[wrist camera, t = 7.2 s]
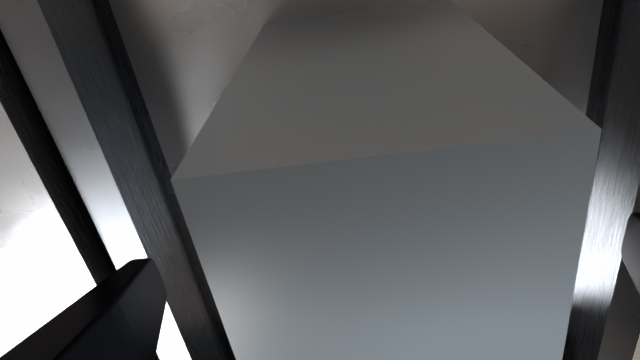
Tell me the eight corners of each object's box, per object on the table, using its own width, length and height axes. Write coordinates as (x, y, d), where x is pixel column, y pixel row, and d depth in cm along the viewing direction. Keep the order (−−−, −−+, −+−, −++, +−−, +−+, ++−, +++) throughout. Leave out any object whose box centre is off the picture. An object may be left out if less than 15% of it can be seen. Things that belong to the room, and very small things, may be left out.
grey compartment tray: (680, -237, 8) (876, -315, 5) (572, 338, 14) (627, 440, 12) (-434, -29, 10) (-735, -3, 7) (-67, 383, 17) (-147, 478, 14)
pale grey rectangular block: (447, -3, 9) (602, 129, 4) (451, 300, 13) (527, 565, 8) (263, 25, 9) (170, 180, 4) (322, 311, 13) (313, 571, 8)
